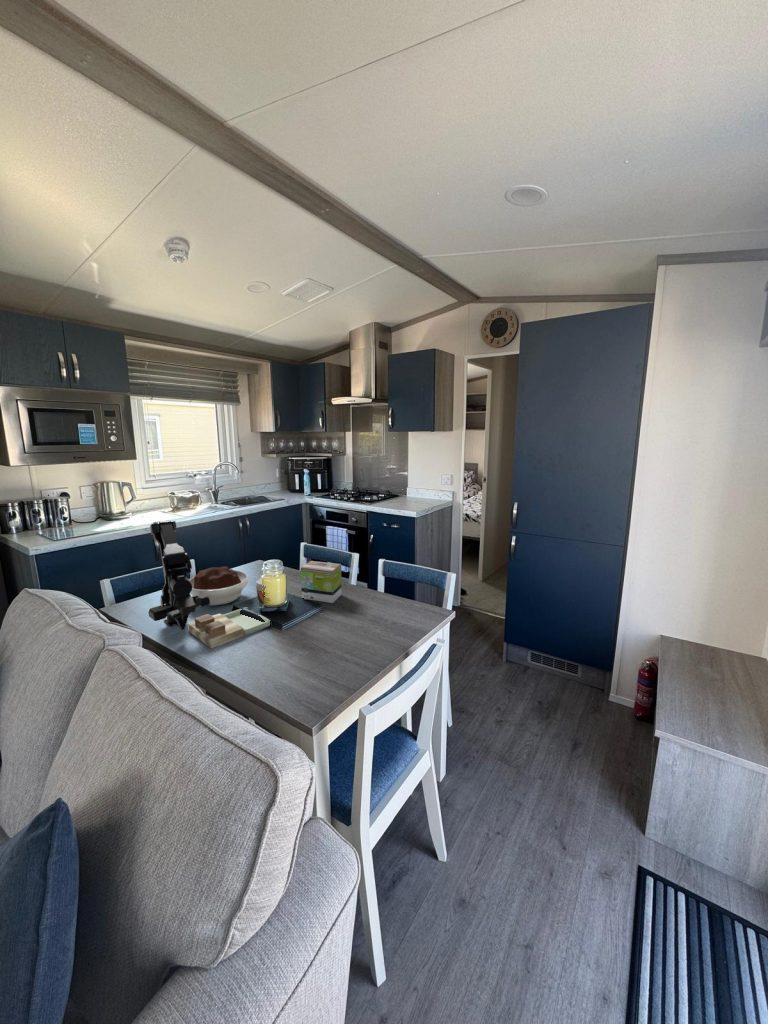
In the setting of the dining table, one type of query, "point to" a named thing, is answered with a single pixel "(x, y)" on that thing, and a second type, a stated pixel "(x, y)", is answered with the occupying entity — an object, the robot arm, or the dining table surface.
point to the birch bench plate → (230, 634)
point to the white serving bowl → (219, 584)
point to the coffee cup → (260, 592)
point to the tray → (247, 621)
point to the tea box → (321, 581)
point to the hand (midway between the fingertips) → (182, 629)
